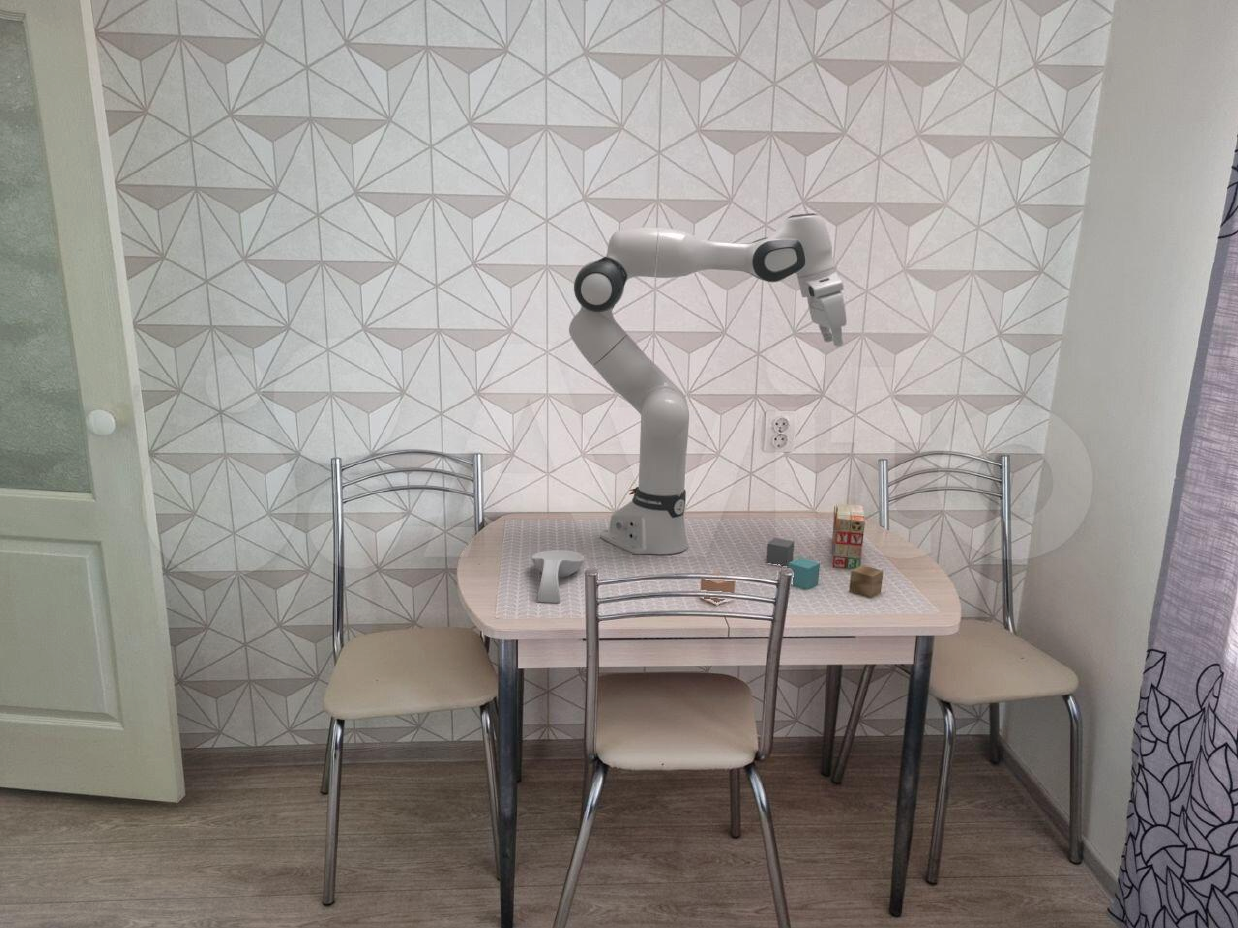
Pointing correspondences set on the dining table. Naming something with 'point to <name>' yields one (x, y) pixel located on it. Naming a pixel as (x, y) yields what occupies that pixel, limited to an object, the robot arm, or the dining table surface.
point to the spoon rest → (555, 571)
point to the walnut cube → (866, 581)
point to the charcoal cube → (780, 551)
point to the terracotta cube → (717, 586)
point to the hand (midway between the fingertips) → (833, 343)
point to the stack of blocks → (847, 536)
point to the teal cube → (805, 573)
